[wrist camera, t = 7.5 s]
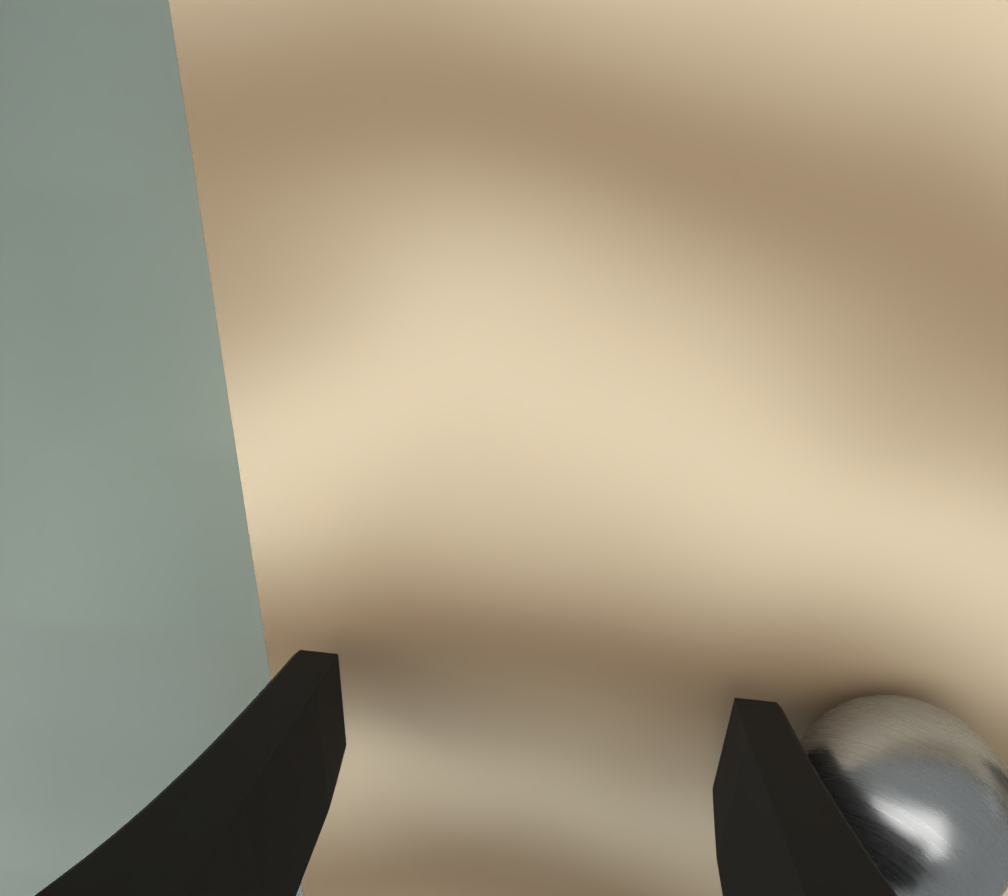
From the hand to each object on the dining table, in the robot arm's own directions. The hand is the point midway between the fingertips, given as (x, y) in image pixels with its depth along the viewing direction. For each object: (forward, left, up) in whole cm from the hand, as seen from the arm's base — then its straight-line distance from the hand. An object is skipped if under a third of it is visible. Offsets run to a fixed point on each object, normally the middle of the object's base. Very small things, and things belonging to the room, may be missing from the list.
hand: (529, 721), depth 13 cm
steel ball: (0, -5, +1) cm, 5 cm away
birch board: (0, -7, -2) cm, 8 cm away
